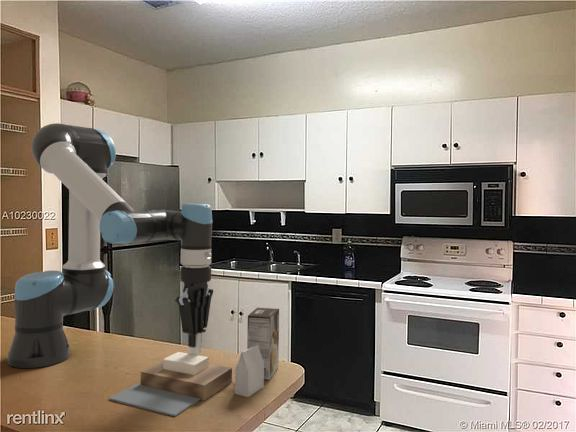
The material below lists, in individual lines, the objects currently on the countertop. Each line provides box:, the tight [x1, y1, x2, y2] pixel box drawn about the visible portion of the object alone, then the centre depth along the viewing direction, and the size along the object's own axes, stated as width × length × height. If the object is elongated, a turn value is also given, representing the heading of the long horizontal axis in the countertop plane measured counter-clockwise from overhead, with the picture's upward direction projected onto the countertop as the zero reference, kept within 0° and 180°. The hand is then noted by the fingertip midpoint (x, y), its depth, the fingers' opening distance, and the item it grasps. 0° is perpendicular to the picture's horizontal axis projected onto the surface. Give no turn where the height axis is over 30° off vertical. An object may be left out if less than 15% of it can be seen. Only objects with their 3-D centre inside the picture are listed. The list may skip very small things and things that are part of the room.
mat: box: [108, 383, 201, 417], centre depth 105 cm, size 18×9×1 cm, turn 66°
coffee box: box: [246, 307, 280, 381], centre depth 122 cm, size 9×6×16 cm
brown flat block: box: [140, 360, 233, 402], centre depth 114 cm, size 18×12×4 cm, turn 66°
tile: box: [162, 351, 210, 375], centre depth 115 cm, size 9×6×2 cm, turn 67°
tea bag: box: [234, 345, 265, 398], centre depth 111 cm, size 4×7×10 cm, turn 151°
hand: (194, 358), depth 119 cm, fingers closed
